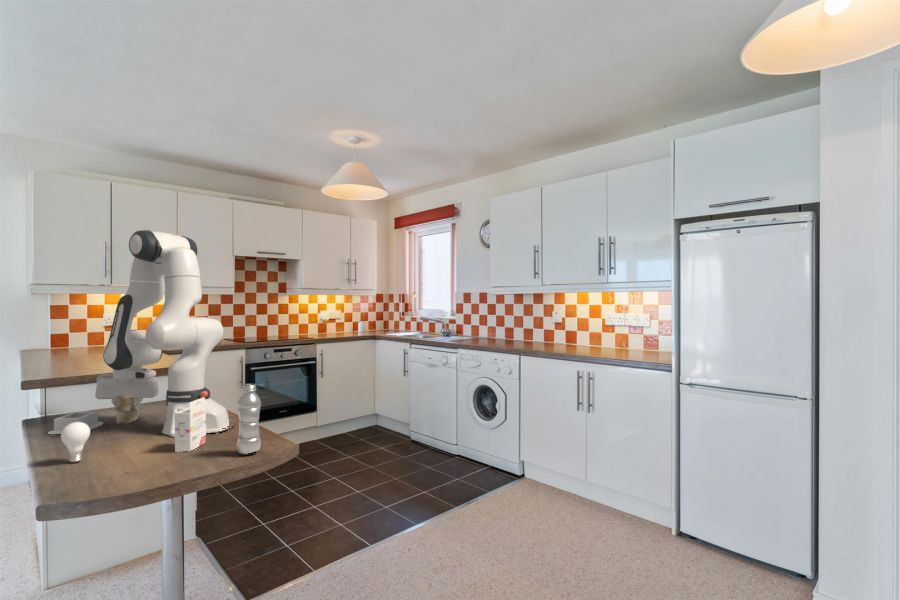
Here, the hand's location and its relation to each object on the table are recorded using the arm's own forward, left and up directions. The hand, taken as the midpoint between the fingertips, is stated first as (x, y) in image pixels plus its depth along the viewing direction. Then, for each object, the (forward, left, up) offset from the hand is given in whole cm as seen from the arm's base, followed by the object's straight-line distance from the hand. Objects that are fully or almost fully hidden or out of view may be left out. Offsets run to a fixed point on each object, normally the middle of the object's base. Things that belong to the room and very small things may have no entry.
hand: (127, 410), depth 170 cm
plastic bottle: (-56, +46, -4) cm, 73 cm away
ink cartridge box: (-37, +38, -4) cm, 53 cm away
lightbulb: (-11, +47, -4) cm, 48 cm away
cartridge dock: (+11, +10, -4) cm, 15 cm away
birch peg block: (0, 0, -4) cm, 4 cm away
